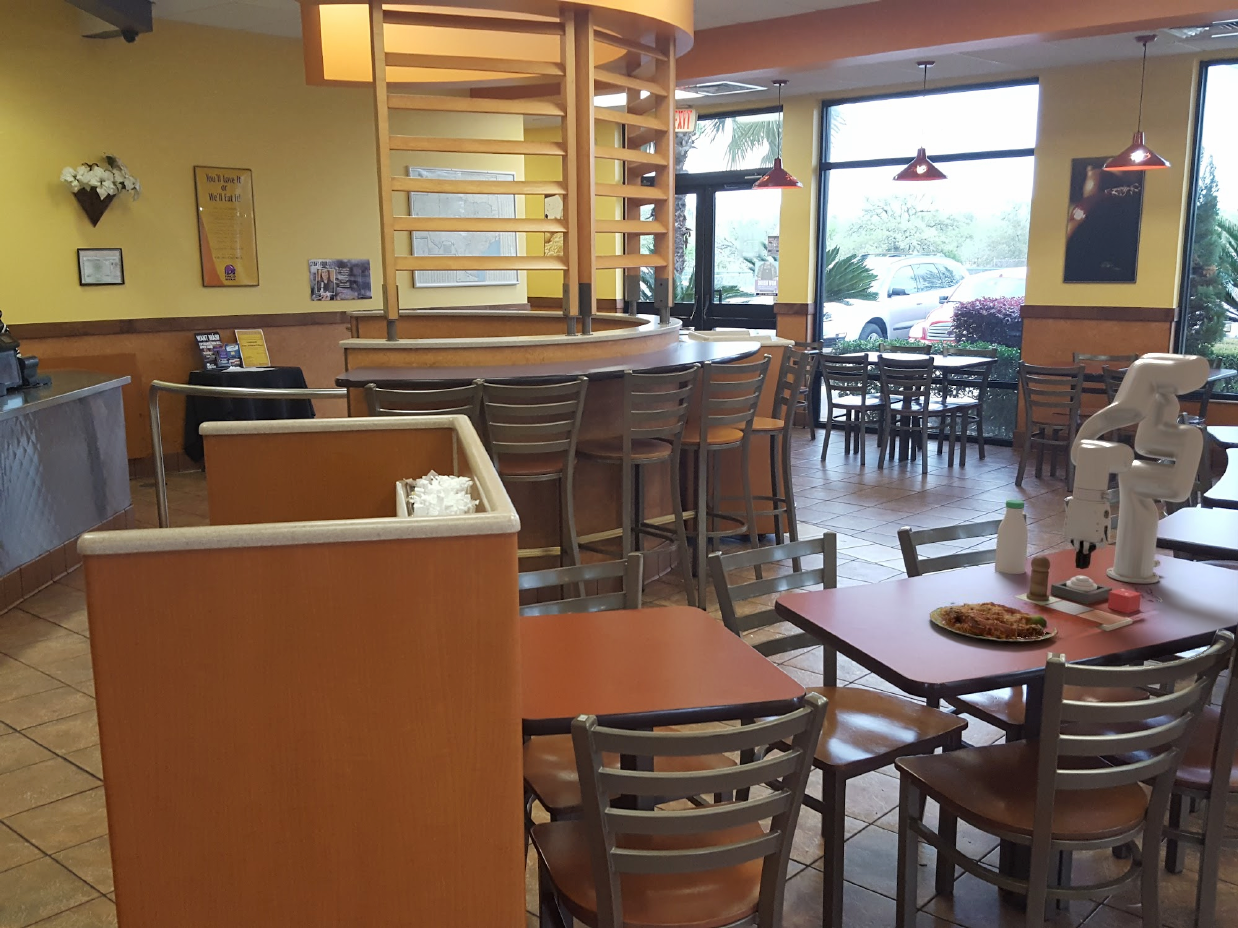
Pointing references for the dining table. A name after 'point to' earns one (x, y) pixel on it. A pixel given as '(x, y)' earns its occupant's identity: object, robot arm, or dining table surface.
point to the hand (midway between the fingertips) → (1082, 567)
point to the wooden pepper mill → (1039, 579)
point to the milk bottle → (1012, 540)
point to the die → (1124, 600)
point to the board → (1072, 608)
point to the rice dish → (991, 622)
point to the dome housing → (1080, 593)
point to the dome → (1081, 584)
